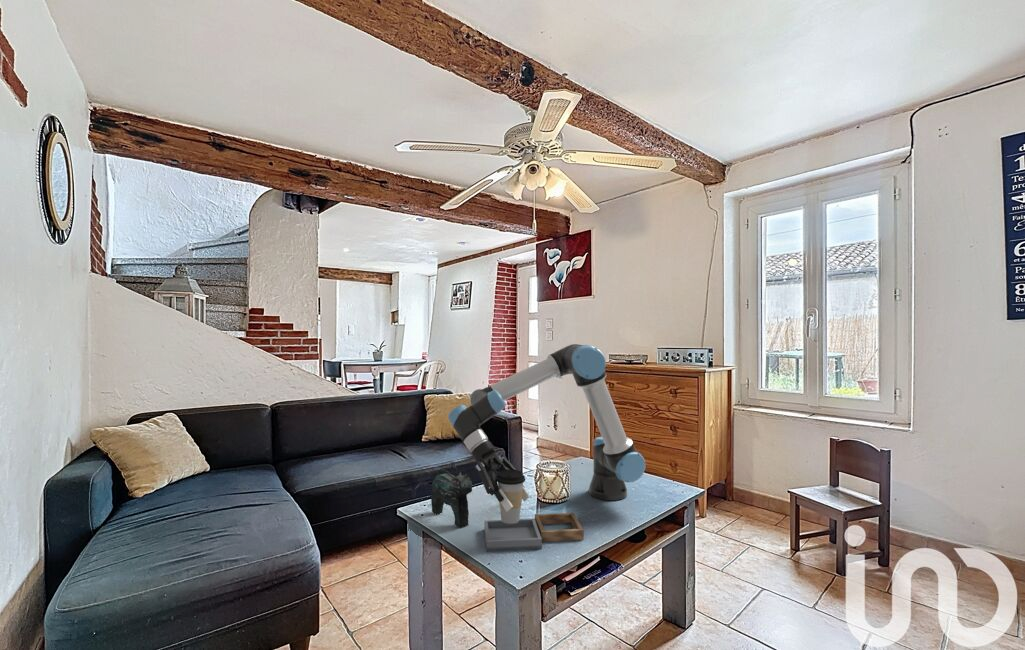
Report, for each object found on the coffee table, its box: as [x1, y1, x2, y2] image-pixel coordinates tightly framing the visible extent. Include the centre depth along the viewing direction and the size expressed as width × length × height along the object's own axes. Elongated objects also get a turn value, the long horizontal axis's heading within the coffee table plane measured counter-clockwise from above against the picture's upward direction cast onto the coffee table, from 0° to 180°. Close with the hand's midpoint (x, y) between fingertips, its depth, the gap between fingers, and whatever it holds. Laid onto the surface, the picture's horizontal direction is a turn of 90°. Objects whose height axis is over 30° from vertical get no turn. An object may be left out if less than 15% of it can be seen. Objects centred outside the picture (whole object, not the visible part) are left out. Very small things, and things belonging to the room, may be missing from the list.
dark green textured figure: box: [430, 463, 473, 529], centre depth 162 cm, size 20×6×20 cm, turn 43°
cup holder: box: [534, 512, 585, 543], centre depth 154 cm, size 14×14×3 cm
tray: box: [483, 518, 543, 552], centre depth 148 cm, size 17×15×3 cm
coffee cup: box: [496, 469, 526, 524], centre depth 148 cm, size 9×9×15 cm
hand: (518, 503), depth 146 cm, fingers closed on coffee cup, 9 cm apart
